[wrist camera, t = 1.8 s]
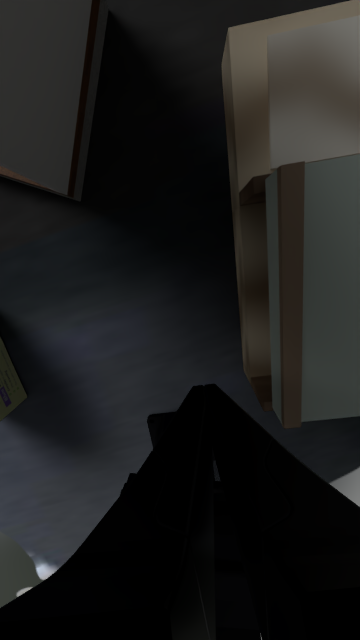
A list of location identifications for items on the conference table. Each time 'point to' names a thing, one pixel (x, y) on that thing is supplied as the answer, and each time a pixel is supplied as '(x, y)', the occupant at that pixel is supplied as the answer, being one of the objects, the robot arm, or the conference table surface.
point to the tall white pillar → (49, 90)
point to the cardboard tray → (282, 137)
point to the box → (9, 384)
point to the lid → (314, 289)
